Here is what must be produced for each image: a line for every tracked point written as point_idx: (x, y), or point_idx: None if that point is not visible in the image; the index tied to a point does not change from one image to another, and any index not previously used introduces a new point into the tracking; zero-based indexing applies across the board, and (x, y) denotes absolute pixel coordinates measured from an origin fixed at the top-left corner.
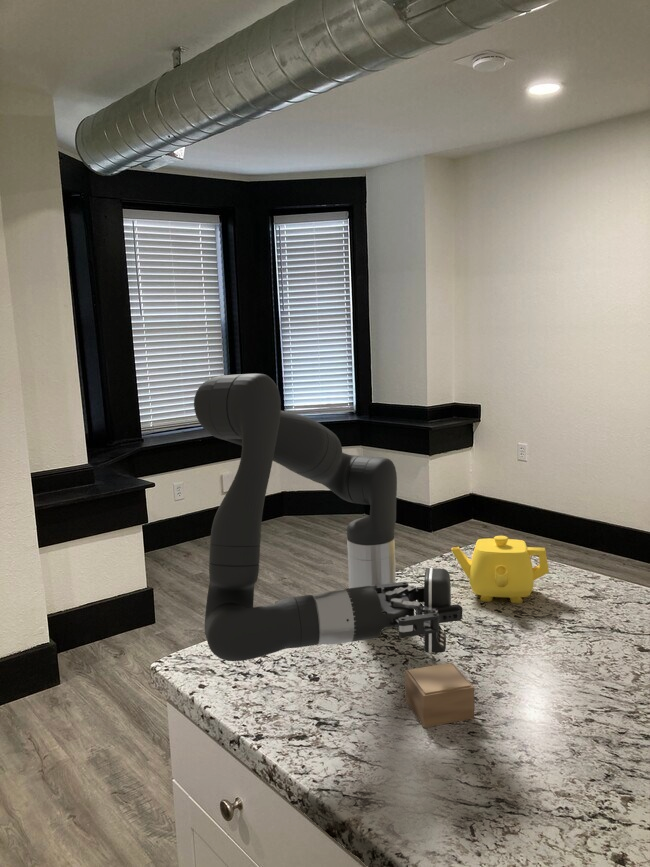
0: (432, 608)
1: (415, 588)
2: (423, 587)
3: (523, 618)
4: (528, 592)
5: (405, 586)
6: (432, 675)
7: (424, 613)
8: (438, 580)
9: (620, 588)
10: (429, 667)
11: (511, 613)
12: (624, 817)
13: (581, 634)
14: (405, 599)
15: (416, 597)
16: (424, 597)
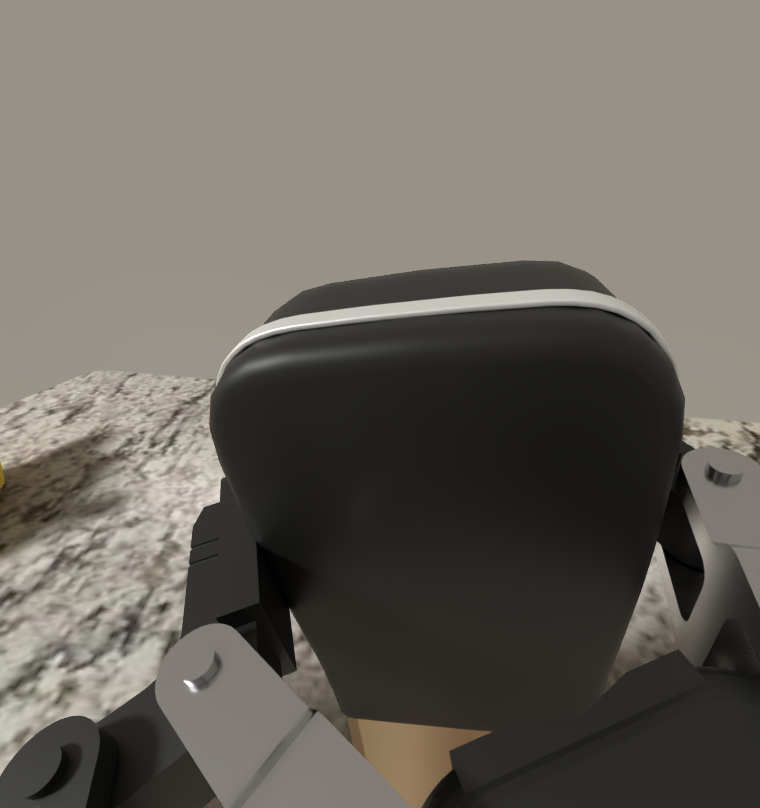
0: (737, 475)
1: (236, 632)
2: (236, 562)
3: (68, 506)
4: (2, 473)
5: (108, 765)
6: (448, 758)
7: (635, 596)
8: (585, 279)
9: (77, 386)
10: (378, 770)
11: (29, 525)
12: (737, 435)
13: (184, 433)
14: (580, 771)
15: (274, 669)
16: (665, 491)
